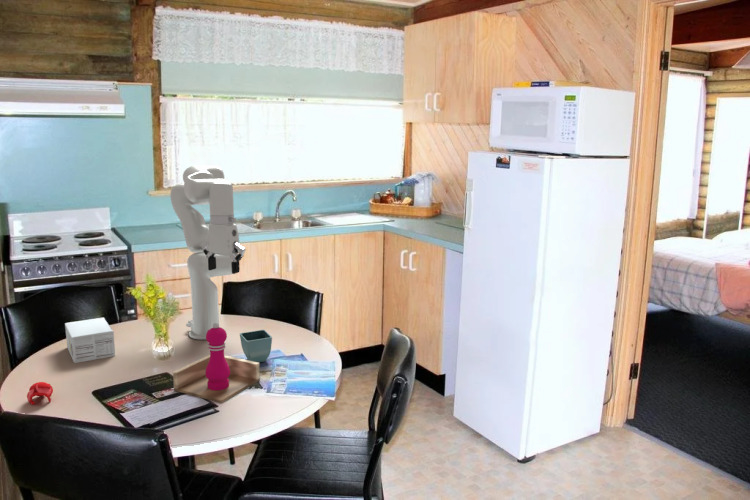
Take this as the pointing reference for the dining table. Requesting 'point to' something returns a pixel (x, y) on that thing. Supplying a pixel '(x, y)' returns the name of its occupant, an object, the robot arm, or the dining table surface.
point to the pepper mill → (217, 359)
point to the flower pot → (256, 345)
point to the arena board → (202, 390)
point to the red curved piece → (39, 391)
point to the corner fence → (199, 366)
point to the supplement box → (90, 339)
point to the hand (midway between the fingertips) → (223, 271)
